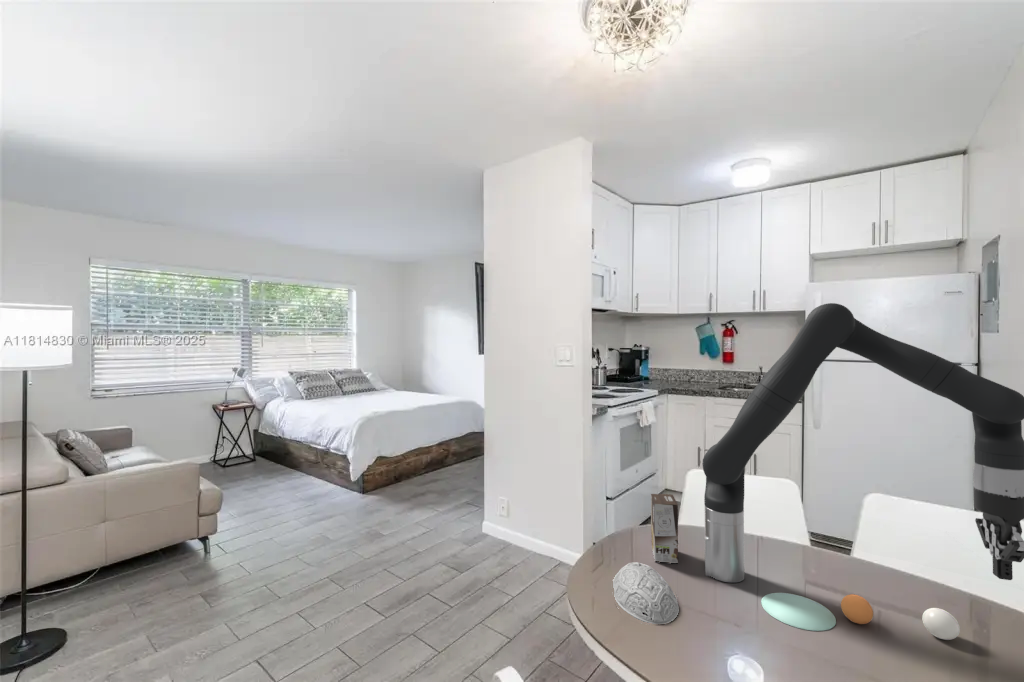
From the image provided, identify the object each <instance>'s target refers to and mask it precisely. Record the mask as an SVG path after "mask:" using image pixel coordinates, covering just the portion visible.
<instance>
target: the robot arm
mask: <svg viewBox="0 0 1024 682" xmlns="http://www.w3.org/2000/svg"><path fill="white" fill-rule="evenodd" d="M836 348H838V349H840V350H845V351H847V352H850V353H853V354H855V355H858V356H860V357H863V358H865V359H867V360H868V361H871V362H873V363H875V364H877V365H879V366H881V367H883V369H886V370H889V371H890V372H892V373H894V374H895V375H898V377H901V378H902V379H905V380H907V381H908V382H910V383H912V384H915V385H916V386H919V387H920V388H922V389H924V390H927V391H929V392H931V393H933V394H935V395H937V396H940V397H942V398H945V399H947V400H950V401H951V402H953V403H954V404H956V405H959V406H960V407H962V408H964V409H966V410H968V411H969V412H971V414H972V423H973V429H974V430H973V431H974V447H973V449H974V466H973V472H972V473H973V474H972V477H973V478H972V481H973V483H972V485H973V507H974V508H975V509H976V510H977V511H979V512H981V513H982V518H979V517H976V518H975V520H974V521H975V523H976V527H977V530H978V532H979V535H980V538H981V540H982V544H983V546H984V548H985V549H988V550H989V554H990V555H991V556H992V574H993V575H994V576H995V577H996V578H998V579H999V580H1004V581H1012V580H1013V578H1014V576H1013V562H1015V563H1022V562H1023V561H1024V538H1023V537H1022V533H1023V529H1022V525H1021V521H1022V520H1024V437H1023V434H1022V433H1023V432H1022V428H1023V427H1022V421H1023V420H1024V395H1022V393H1020V392H1018V391H1017V390H1015V389H1012V388H1010V387H1008V386H1005V385H1003V384H1000V383H998V382H996V381H993V380H991V379H989V378H986V377H983V376H981V375H979V374H975V373H973V372H971V371H969V370H968V369H966V368H965V367H963V366H961V365H959V364H957V363H954V362H952V361H950V360H948V359H945V358H944V357H941V356H939V355H937V354H936V353H935V354H934V353H933V352H930V351H927V350H925V349H922V348H920V347H917V346H914V345H911V344H910V343H909V344H908V343H907V342H903V341H900V340H897V339H895V338H892V337H890V336H887V335H885V334H883V333H881V332H878V331H877V330H874V329H872V328H871V327H869V326H868V325H866V324H864V323H862V322H861V321H860V320H858V319H856V318H855V317H854V313H852V311H851V310H850V309H849V308H848V307H846V306H844V305H842V304H839V303H835V302H832V303H831V302H830V303H824V304H822V305H819V306H817V307H815V308H814V309H812V310H811V311H810V312H809V314H808V315H807V317H806V319H805V321H804V323H803V324H802V326H801V327H800V329H799V331H798V333H797V334H796V336H795V338H794V340H793V341H792V342H791V344H790V346H789V347H788V348H787V349H786V350H785V352H784V353H783V354H782V355H781V356H780V358H779V359H778V360H777V361H776V362H775V363H774V364H773V365H772V366H771V367H770V368H769V369H768V371H767V372H766V373H765V375H764V376H763V377H762V378H761V379H760V381H759V382H758V384H756V386H755V387H754V388H753V390H752V391H751V393H750V394H749V396H748V397H747V399H746V400H745V402H744V403H743V405H742V406H741V408H740V410H739V412H738V414H737V415H736V418H735V420H734V421H733V423H732V425H731V426H730V428H729V429H728V430H727V432H726V433H725V434H724V435H723V436H722V437H721V438H720V440H719V441H718V442H717V443H716V444H713V445H711V447H709V448H708V450H707V451H706V453H705V454H704V456H703V458H702V469H703V473H704V475H705V490H704V574H705V576H706V577H710V576H711V577H710V578H712V577H713V578H712V579H714V578H715V580H718V581H721V582H725V583H730V584H731V583H740V582H742V581H744V579H745V572H746V570H745V525H744V524H745V513H744V512H745V508H744V506H745V467H746V465H747V464H748V462H749V460H751V457H752V456H753V455H754V453H755V452H756V450H757V449H758V448H759V446H761V444H762V443H763V442H764V441H765V440H767V438H769V437H770V435H771V434H772V433H773V432H774V431H775V430H776V429H777V428H778V427H779V426H780V424H781V423H783V421H784V420H785V419H786V418H787V416H788V415H789V414H790V413H791V411H792V410H793V409H794V408H795V406H796V405H797V404H798V403H799V401H800V400H801V399H802V397H803V395H805V392H806V391H807V389H808V387H809V385H810V383H811V381H812V379H813V377H815V374H816V372H817V371H818V369H819V368H820V367H821V365H822V364H823V363H824V361H825V360H826V359H827V358H828V357H829V356H830V355H831V353H833V351H834V350H835V349H836Z"/></svg>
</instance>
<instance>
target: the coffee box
mask: <svg viewBox="0 0 1024 682" xmlns="http://www.w3.org/2000/svg"><path fill="white" fill-rule="evenodd" d="M650 519H651V520H650V528H651V529H650V531H651V532H650V533H651V535H650V536H651V551H653V552H652V555H654V556H653V559H655V560H654V562H655V561H661V562H671V563H678V564H679V504H678V502H677V500H676V498H675V496H674V494H670V493H669V494H668V493H650ZM671 563H670V564H671Z"/></svg>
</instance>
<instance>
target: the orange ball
mask: <svg viewBox="0 0 1024 682" xmlns="http://www.w3.org/2000/svg"><path fill="white" fill-rule="evenodd" d="M840 608H841V611H842V612H843V614H844V615H845V617H846V618H847V619H848V620H850V621H851V622H852V623H855V624H856V625H857V624H858V625H866V624H869V623H870V622H871V621H872V620H873V618H874V610H873V607H872V606H871V604H870V602H869V601H868V600H867V599H866V598H864V597H863V596H861V595H859V594H847V595H845V596H844V597H843V598H842V599H841V601H840Z"/></svg>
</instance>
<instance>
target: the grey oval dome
mask: <svg viewBox="0 0 1024 682" xmlns="http://www.w3.org/2000/svg"><path fill="white" fill-rule="evenodd" d="M613 578H614V579H613ZM613 578H612V581H613V588H614V597H615V600H616V602H617V603H618V605H619V606H620V607H621V608H622V609H623V610H624V611H626V612H627V613H628V614H630V615H631V616H633V617H634V618H636V619H638V620H641V621H643V622H647V623H652V624H664V623H665V625H667V624H666V623H669V622H671V621H673V620H674V619H675V618H676V617H677V618H678V616H679V614H680V606H679V602H678V600H677V599H678V598H677V599H676V597H675V595H674V593H675V592H674V591H673V589H672V588H671V586H670V585H669V583H668V582H667V581H666V580H665V579H664V577H663V576H662V575H661V574H660V573H659V572H658V571H657V570H656V569H654V568H653V567H652V566H651V565H647V564H646V563H645V564H644V563H641V562H638V561H635V562H633V561H632V562H628V563H627V564H625V565H624V566H621V568H620V569H619V571H618V572H617V573H616V574H615V577H613ZM673 592H674V593H673ZM643 613H644V614H643ZM678 613H679V614H678ZM677 615H678V616H677ZM677 618H676V619H677ZM676 619H675V620H676ZM675 620H674V621H675ZM674 621H673V622H674ZM671 623H672V622H671ZM669 624H670V623H669Z"/></svg>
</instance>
